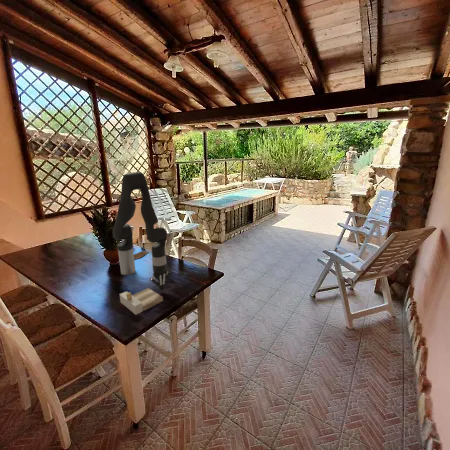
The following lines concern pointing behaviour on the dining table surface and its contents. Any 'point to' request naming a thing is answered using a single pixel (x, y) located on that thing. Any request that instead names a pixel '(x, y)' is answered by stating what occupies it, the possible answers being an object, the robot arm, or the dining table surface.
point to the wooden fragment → (139, 255)
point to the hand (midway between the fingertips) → (161, 289)
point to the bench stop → (131, 302)
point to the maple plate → (148, 298)
